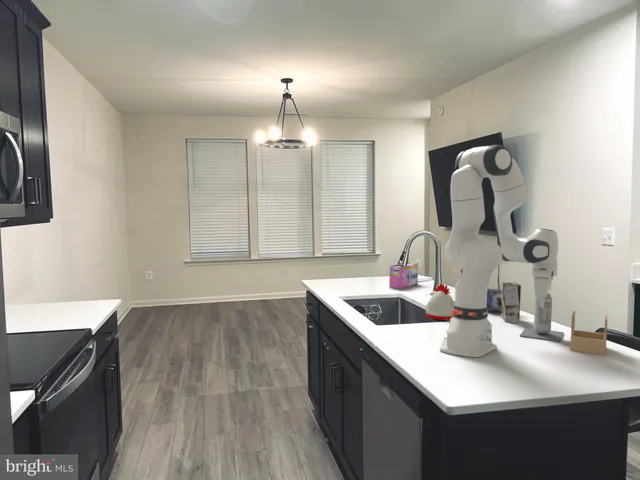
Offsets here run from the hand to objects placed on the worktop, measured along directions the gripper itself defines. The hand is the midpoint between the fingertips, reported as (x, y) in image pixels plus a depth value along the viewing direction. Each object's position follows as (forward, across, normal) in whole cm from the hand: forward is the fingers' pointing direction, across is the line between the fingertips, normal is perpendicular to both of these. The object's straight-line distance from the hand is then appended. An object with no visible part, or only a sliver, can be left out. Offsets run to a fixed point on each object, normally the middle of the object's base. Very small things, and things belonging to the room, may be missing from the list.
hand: (542, 305), depth 181 cm
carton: (+12, +11, +16) cm, 23 cm away
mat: (+12, 0, 0) cm, 12 cm away
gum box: (+12, -79, -88) cm, 119 cm away
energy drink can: (+10, 0, 0) cm, 11 cm away
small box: (+12, -33, -24) cm, 43 cm away
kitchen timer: (+12, -10, -43) cm, 46 cm away
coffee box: (+12, -20, -15) cm, 28 cm away
